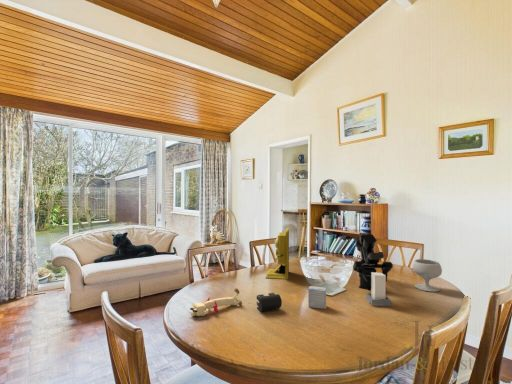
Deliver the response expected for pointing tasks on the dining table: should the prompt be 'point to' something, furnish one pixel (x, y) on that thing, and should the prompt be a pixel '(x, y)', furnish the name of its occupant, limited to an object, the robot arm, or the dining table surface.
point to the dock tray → (378, 301)
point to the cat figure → (214, 304)
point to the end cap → (268, 302)
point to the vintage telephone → (281, 257)
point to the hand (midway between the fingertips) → (376, 281)
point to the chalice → (427, 273)
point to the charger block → (378, 285)
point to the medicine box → (317, 297)
